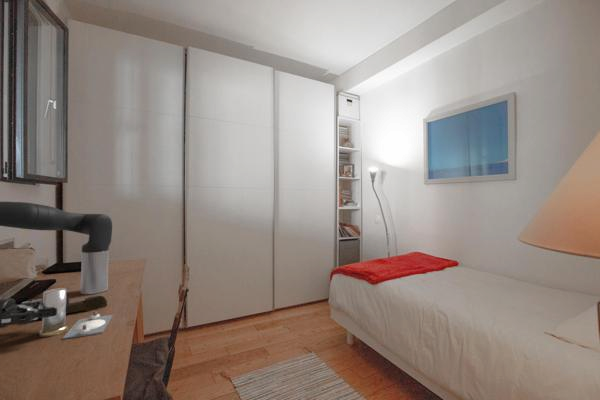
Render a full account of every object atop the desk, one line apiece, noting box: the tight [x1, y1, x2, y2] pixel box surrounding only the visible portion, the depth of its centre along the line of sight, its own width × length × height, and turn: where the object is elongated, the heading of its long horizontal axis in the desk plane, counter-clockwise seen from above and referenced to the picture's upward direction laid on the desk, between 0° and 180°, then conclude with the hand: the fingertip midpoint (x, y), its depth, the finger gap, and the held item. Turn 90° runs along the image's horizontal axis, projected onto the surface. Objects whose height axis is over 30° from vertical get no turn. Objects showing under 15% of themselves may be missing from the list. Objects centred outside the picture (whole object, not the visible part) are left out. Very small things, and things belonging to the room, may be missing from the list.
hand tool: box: [33, 295, 108, 322], centre depth 90 cm, size 19×4×5 cm, turn 126°
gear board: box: [62, 311, 114, 340], centre depth 80 cm, size 13×9×2 cm
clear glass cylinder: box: [39, 287, 69, 338], centre depth 77 cm, size 6×6×12 cm
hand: (62, 306), depth 78 cm, fingers open, 8 cm apart
